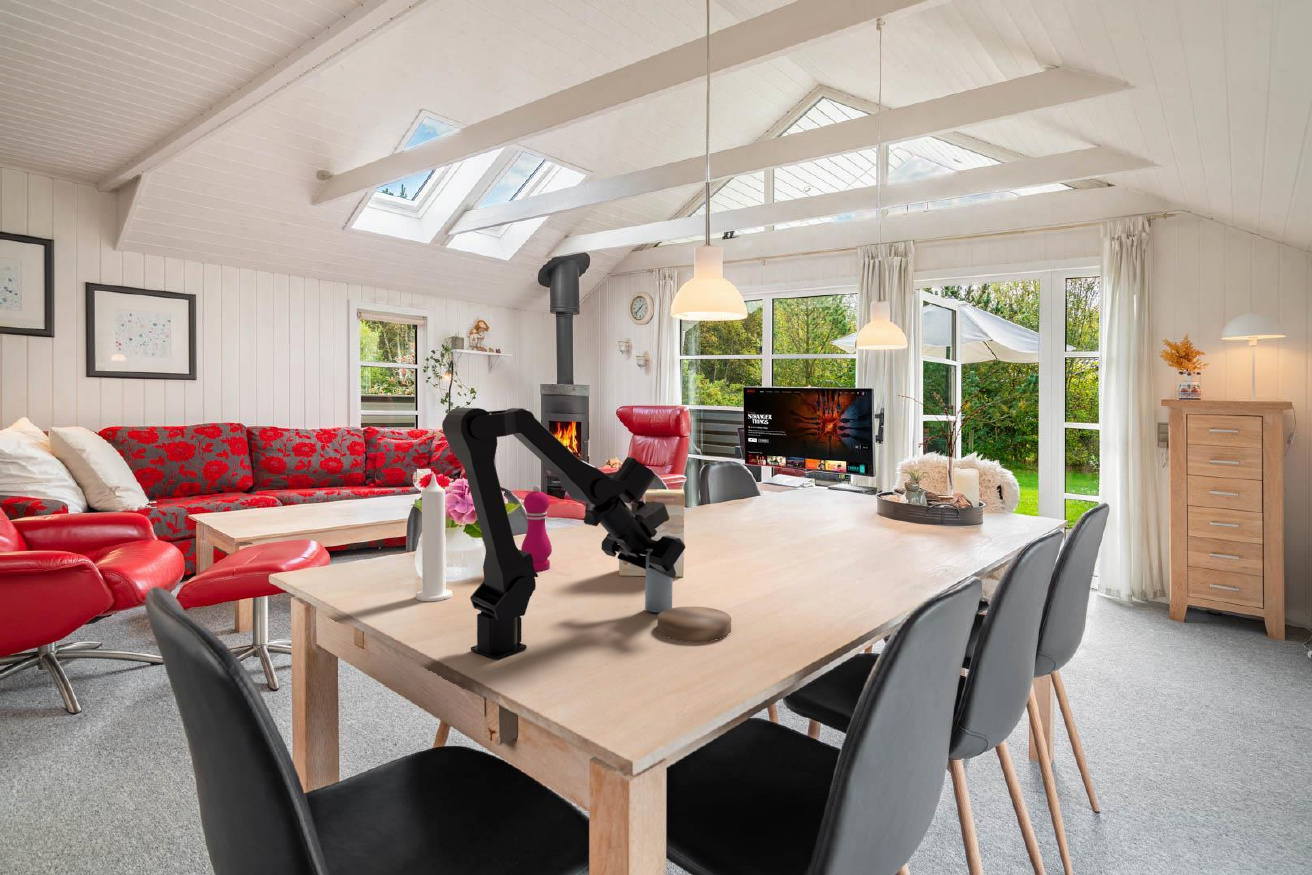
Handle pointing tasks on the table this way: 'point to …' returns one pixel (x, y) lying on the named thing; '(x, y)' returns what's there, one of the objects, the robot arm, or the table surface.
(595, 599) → the table surface
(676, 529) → the coffeecake box
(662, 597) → the jar
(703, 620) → the trivet
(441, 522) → the candle
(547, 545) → the pepper mill
